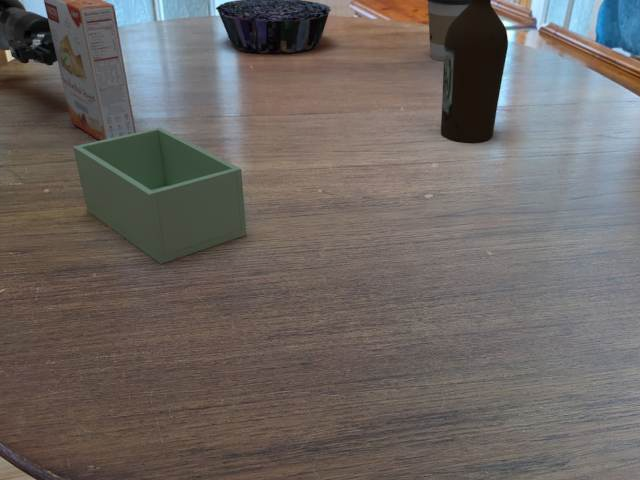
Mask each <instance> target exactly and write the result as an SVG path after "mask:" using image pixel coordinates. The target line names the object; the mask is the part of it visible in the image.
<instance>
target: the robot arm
mask: <svg viewBox="0 0 640 480" xmlns="http://www.w3.org/2000/svg"><path fill="white" fill-rule="evenodd" d="M26 9H27V8H26V7H25V6H24V4H23V3H22V2H21V1H20V0H0V51H10V55H11V57H12V58H14V59H15V60H16V61H19V62H20V63H21V64H28V63H30V60H32V61H33V63H36V64H42V65H43V64H44V65H46V66H49V67H50V66H54V64H55V63H57V62H58V61H57V57H56V52H55V48H54V43H53V39H52V34H51V30H50V26H49V22H48V17H45V16H43V15H41V14H38V13H36V12H32V11H27V10H26Z"/></svg>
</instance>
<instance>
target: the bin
mask: <svg viewBox="0 0 640 480" xmlns="http://www.w3.org/2000/svg"><path fill="white" fill-rule="evenodd" d="M72 149H73V153H74V158H75V161H76V167H77V171H78V176H79V180H80V185H81V189H82V194H83V198H84V202H85V208H86V211H87V212H88V213H89V214H90V215H92V216H93V217H94V218H96V219H97V220H99V221H100V222H101V223H103V224H104V225H105V226H107V227H108V228H110V229H111V230H112V231H115V232H116V233H117V234H118V235H120V236H121V237H123V239H125V240H127V242H129V243H131V244H132V245H133V246H135V247H136V248H138V249H139V250H140V251H142V252H143V253H145V255H147V256H148V257H150V258H151V259H153V260H154V261H155V262H157V263H158V264H159V265H163V264H167V263H169V262H171V261H174V260H177V259H178V260H179V259H180V258H183V257H186V256H188V255H189V256H190V255H192V254H196V253H198V252H200V251H205V250H206V249H210V248H212V247H216V246H219V245H221V244H225V243H228V242H231V241H233V240H236V239H239V238H242V237H245V236H247V235H248V233H247V224H246V223H247V222H246V211H245V199H244V198H245V197H244V188H243V187H244V185H243V174H242V169H241V168H240V167H238V166H237V165H234V164H232V163H230V162H228V161H226V160H225V159H223V158H221V157H219V156H217V155H215V154H214V153H212V152H209V151H207V150H205V149H203V148H202V147H199V146H198V145H195V144H194V143H192V142H189V141H188V140H186V139H184V138H182V137H180V136H178V135H176V134H175V133H172V132H171V131H168V130H167V129H164V128H162V127H161V126H159V127H156V128H155V127H154V128H151V129H147V130H146V129H145V130H142V131H138V132H137V131H136V133H132V134H128V135H123V136H119V137H114V138H110V139H105V140H101V141H99V140H97V141H92V142H87V143H82V144H78V145H73V146H72Z"/></svg>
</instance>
